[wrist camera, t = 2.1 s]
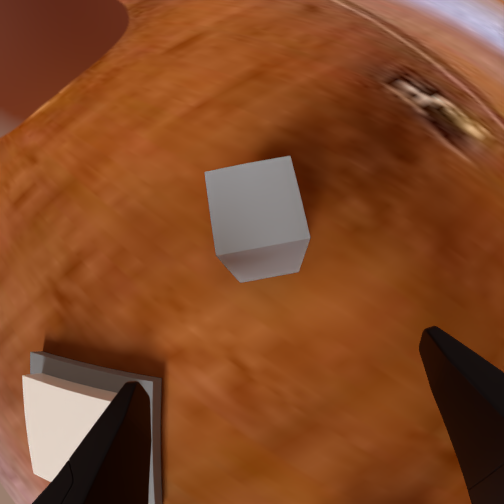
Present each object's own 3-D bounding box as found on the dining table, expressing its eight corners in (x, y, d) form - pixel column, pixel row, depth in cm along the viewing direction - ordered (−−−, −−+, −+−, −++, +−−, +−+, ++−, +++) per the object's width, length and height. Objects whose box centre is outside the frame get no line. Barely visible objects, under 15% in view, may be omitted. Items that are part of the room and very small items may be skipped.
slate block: (286, 216, 24) (290, 155, 15) (298, 271, 23) (310, 238, 14) (231, 227, 24) (204, 172, 15) (240, 282, 23) (216, 255, 14)
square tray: (165, 376, 23) (153, 381, 20) (165, 502, 20) (155, 516, 17) (47, 351, 24) (30, 351, 21) (54, 464, 21) (39, 472, 19)
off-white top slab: (133, 396, 20) (117, 402, 18) (138, 497, 18) (125, 510, 16) (41, 373, 21) (22, 375, 18) (50, 465, 19) (33, 473, 16)
